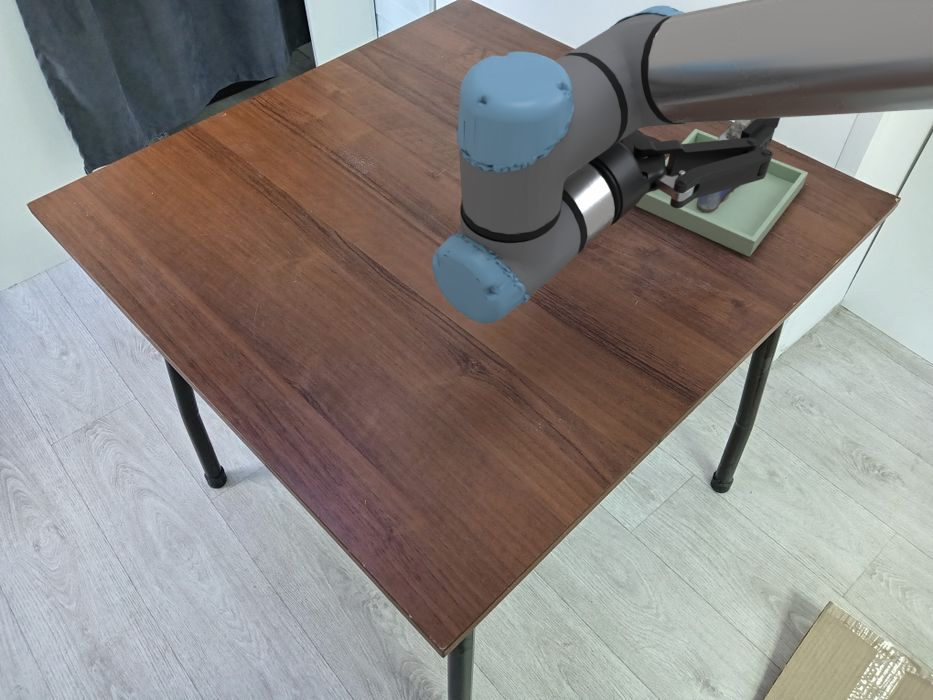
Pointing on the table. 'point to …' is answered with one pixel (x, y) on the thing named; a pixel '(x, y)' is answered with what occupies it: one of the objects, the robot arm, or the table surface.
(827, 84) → the robot arm
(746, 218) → the tray
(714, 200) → the flask
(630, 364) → the table surface
